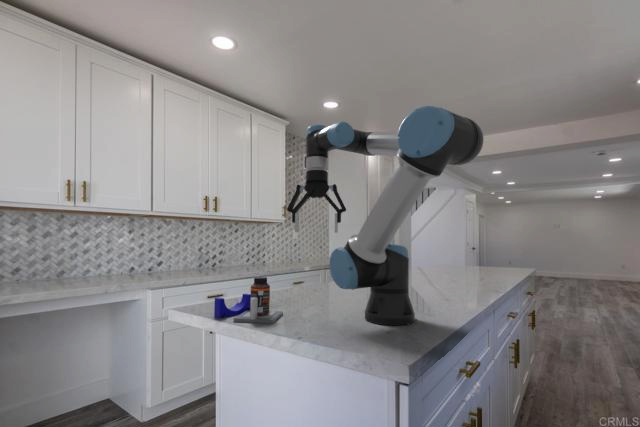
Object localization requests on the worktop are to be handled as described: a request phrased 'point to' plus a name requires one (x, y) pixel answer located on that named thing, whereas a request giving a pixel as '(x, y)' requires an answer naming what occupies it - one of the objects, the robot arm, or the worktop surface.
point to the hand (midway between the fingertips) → (316, 232)
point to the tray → (260, 320)
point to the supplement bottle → (261, 295)
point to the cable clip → (238, 309)
